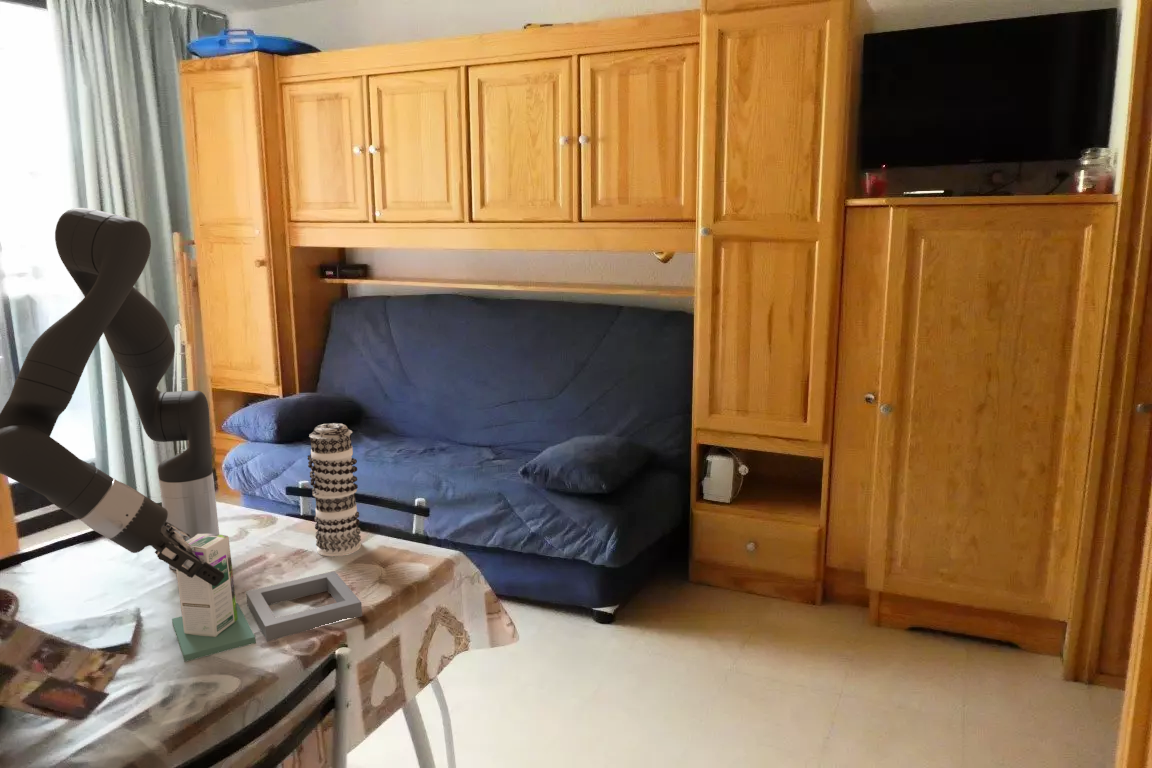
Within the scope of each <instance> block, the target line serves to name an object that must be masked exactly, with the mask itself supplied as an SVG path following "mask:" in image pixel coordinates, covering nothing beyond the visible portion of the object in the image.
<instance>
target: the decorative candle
mask: <svg viewBox="0 0 1152 768" xmlns="http://www.w3.org/2000/svg"><path fill="white" fill-rule="evenodd" d="M351 434H353V430H351V429H349V428H348V426H347V425H346V424H343V423H338V422H332V423H330V422H329V423H323V424H319V425H317V426H315V427H314V429H313V431H312V432H311V433H309V434H308V435H309V436H308V437H309V438H310V446H311V448H310V453H309V454H308V455H307V460H308V463H307V464H308V465H307V466H308V468H309V469H310V472H309V477H310V486H312V487H313V488H312V489H311V491H312V492H311V494H312V496H313V497H314V498H315V499H314V500H315V510H314V511H315V516H314V522H315V524H314V529H315V530H316V532H315V539H316V543H315V546H316V547H317V550H316V551H317V553H318V554H319V555H320V556H322V557H323V556H324V557H333V556H335V557H343V556H346V555H351V554H353V553H354V554H355V553H356V552H357V551H359V549H361V547H362V545H361V541H362V539H361V538H362V536H361V528H360V527H359V525H360V524H361V523H360V519H358V518H359V517H360V512H359V511H358V507H357V506H358V505H357V502H356V492H357V491H358V488H359V486H358V484H357V483H355V482H357V481H358V477H357V476H356V475H354V474H355V473H356V472H357V471H358V467H357V466H355V465H356V464H357V462H358V460H357V459H356V458H354V457H353V455H354V452H353V450H354V449H353V445H352V435H351ZM353 473H354V474H353Z"/></svg>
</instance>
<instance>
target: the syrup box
mask: <svg viewBox="0 0 1152 768" xmlns="http://www.w3.org/2000/svg"><path fill="white" fill-rule="evenodd" d="M229 538H230V537H229V536H228V535H225V534H224V535H223V534H220V533H219V534H197V535H195V537H193V538H191V539H189V540H187V541H186V542H187V543H188V544H190V545H191V546H192V547H193V548H195V550H196V552H195V553H196V555H198V556H199V557H200V558H202V559H204V561H205V562H207V563H208V564H210V565H212V566H213V567H215V568H217V569H218V570H220V571H222V572H223V573H224V578H223V579H222V580H221V582H220V583H219V584H218V585H217V586H213V585H211V584H210V583H208V582H206V581H204V580H203V579H201V578H199V577H198V576H196V575H195V576H193V578H191V577H188V576H187V575H186V574H184V573H182V572H181V571H179V570H178V569H176V570H175V571H176V578H177V579H176V580H177V588H178V594H179V600H180V601H179V602H180V608H181V610H180V611H181V616H182V619H183V627H184V633H186V634H192V635H200V636H212V637H216V636H218V634H219V633H220V632H222V631H223V630H225V629H226V628H227V627H229V626H230V625H231V624H232V623H234V622H236V621H237V620H238V616H237V607H236V603H237V599H236V598H237V597H236V593H235V592H236V590H235V582H234V581H235V579H234V572H233V564H232V555H231V548H230V547H231V545H230V539H229ZM193 563H194V562H192V561H190V560H188V561H187V563H186V564H187V565H188V566H189V567H191V566H192V565H193Z"/></svg>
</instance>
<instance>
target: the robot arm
mask: <svg viewBox="0 0 1152 768" xmlns="http://www.w3.org/2000/svg"><path fill="white" fill-rule="evenodd" d="M54 239H55V240H54V241H55V246H56V247H55V248H56V249H57V253H58V256H59V258H60V260H61V262H62V264H63V266H64V267H65V268H66V270H67V272H68V273H69V275H70V276H71V278H72V279H73V281H74V283H76V285H77V287H78V288H79V290H80V291H81V293H82V294H83V296H84V298H83V299H81V300H80V302H79V303H77V305H76V306H74V307H73V308H71V310H70V311H68V312H67V313H65V314H64V316H62V317H61V318H59V319H58V320H57V321H55V322H54V323H53V324H52V325H51V326H49V327H48V328H47V329H45V331H43V332H42V333H41V335H40V336H39V337H37V339H36V340H35V341H34V343H32V346H31V347H30V348H29V351H28V353H27V355H26V357H25V359H24V361H23V364H22V366H21V368H20V370H19V372H18V374H17V376H16V379H15V381H14V385H13V388H12V390H11V392H10V396H9V398H8V399H7V401H6V403H5V405H4V406H3V408H2V410H1V412H0V474H1V475H3V476H5V477H7V478H10V479H12V480H14V481H16V483H19V484H21V485H23V486H25V487H26V488H28V489H30V490H32V491H34V492H36V493H38V494H40V495H42V496H44V497H45V498H46V499H47V500H48V501H49V502H50V503H52V505H54V506H56V507H57V508H59V509H61V510H62V511H64V512H65V513H68V514H69V515H70V516H72V517H74V518H76V519H78V520H79V521H81V522H82V523H84V524H85V525H86V526H87V527H88V528H90V529H91V530H92V531H94V532H96V533H98V534H100V535H101V536H103V537H104V538H107V539H108V540H109V541H111V542H112V543H115V544H116V545H118V546H120V547H122V548H123V549H124V550H127V551H129V552H130V553H133V554H135V553H139V552H142V551H144V549H145V548H147V547H152V548H153V549H154V550H155V551H154V554H156V557H157V558H158V560H160V561H163V562H165V563H166V564H168V567H169V568H170V569H171V570H175V571H176V569H178V570H179V571H181V572H182V573H184V574H186V575H187V576H188V577H191V578H193V576H195V575H196V576H198V577H199V578H201V579H203V580H204V581H206V582H208V583H210V584H211V585H213V586H217V585H218V584H219V583H220V582H221V580H222V579H223V578H224V573H223V572H222V571H220V570H218V569H217V568H215V567H213V566H212V565H210V564H208V563H207V562H205V561H204V559H202V558H200V557H199V556H198V555H196V553H195V552H196V550H195V548H193V547H192V546H191V545H190V544H188V543H187V542H186V541H187V540H189V539H191V538H193V537H195V535H197V534H219V535H220V529H219V518H218V509H217V501H216V491H215V482H214V481H215V479H214V473H213V472H214V471H213V463H212V462H213V460H212V445H211V432H210V431H211V429H210V427H211V423H210V408H209V403H208V400H207V397H206V394H204V392H202V391H200V390H182V391H178V390H177V391H161V390H159V389H158V386H159V383H160V382H161V380H162V379H163V377H164V376H165V374H166V373H167V371H168V370H169V368H170V366H171V365H172V362H173V360H174V357H175V351H176V347H175V346H176V345H175V341H174V340H173V337H172V335H171V332H170V328H169V326H168V324H167V321H166V319H165V318H164V316H163V315H162V313H161V312H160V310H159V309H158V308H157V307H156V306H155V305H154V304H153V303H152V302H151V301H150V300H149V299H148V298H146V296H145V295H143V294H142V292H140V291H139V290H138V289H137V288H135V285H136V283H137V281H138V280H139V278H140V277H141V274H142V273H143V271H144V270H145V268H146V265H147V263H148V261H149V257H150V253H151V248H152V243H151V242H152V239H151V234H150V232H149V229H148V228H147V227H146V225H145V224H143V223H142V222H141V221H139V220H136V219H133V218H130V217H127V216H122V215H118V214H114V213H110V212H107V211H102V210H99V209H98V210H97V209H94V208H86V207H74V208H71V209H69V210H66V211H65V212H64V213H62V214H61V215H60V217H59V218H58V221H57V223H56V227H55V232H54ZM103 334H104V337H105V340H106V343H107V345H108V346H109V349H110V351H111V353H112V355H113V357H114V359H115V361H116V363H117V364H118V367H119V368H120V370H121V372H122V374H123V377H124V379H125V381H126V383H127V384H128V387H129V390H130V393H131V395H132V397H133V401H134V404H135V407H136V410H137V412H138V415H139V419H140V421H141V425H142V427H143V430H144V432H145V433H146V435H147V437H148V438H149V439H150V440H152V441H153V442H157V443H158V442H159V443H167V442H168V443H169V442H185V441H188V443H189V445H188V448H187V449H186V450H184V451H182V452H180V453H179V454H176V455H173V456H171V457H168V458H166V459H164V460H162V461H161V462H160V463H159V465H157V474H158V482H159V483H158V484H159V489H160V497H161V499H160V500H161V505H160V504H159V503H157V502H155V501H154V500H152V499H151V498H149V497H147V496H146V495H144V494H143V493H141V492H139V491H138V490H136V489H134V488H133V487H132V486H130V485H128V484H126V483H125V482H121V481H119V480H117V479H115V478H114V477H113V476H110V475H108V474H107V473H105V472H104V471H102V470H101V469H99V468H98V467H96V466H94V465H92V464H91V463H89V462H86V461H85V460H83V459H80V457H78V456H77V455H76V454H74V453H73V452H72V451H70V450H69V449H68V448H66V447H65V446H64V445H63V444H61V443H60V442H58V441H57V440H55V439H54V438H53V437H51V434H52V433H53V430H54V428H55V425H56V424H57V422H58V419H59V417H60V416H61V414H62V413H63V412H64V411H65V410H66V409H67V408H68V406H69V404H70V403H71V400H72V399H73V396H74V394H75V391H76V389H77V387H78V384H79V382H80V380H81V377H82V375H83V372H84V370H85V368H86V366H87V363H88V361H89V359H90V357H91V354H93V351H94V349H95V348H96V346H97V344H98V342H99V341H100V339H101V338H102V336H103ZM188 560H190V561H192V562H194V563H193V565H192V566H191V567H189V566H188V565H187V564H186V563H187V561H188Z"/></svg>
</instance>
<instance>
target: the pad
mask: <svg viewBox="0 0 1152 768" xmlns="http://www.w3.org/2000/svg"><path fill="white" fill-rule="evenodd" d="M236 607H237V616H238V620H237V621H236V622H234V623H232V624H231V625H230V626H229V627H227V628H226V629H225V630H223V631H222V632H220V633H219V634H218V636H216V637H212V636H200V635H192V634H186V633H184V627H183V619H182V615H181V616H178V617H173V618H172V619H171V622H172V627H173V631H174V633H175V637H176V639H177V641H178V642H177V643H178V646H179V648H180V651H181V652H180V653H181V655H182V659H183V660H184V662H188V661H192V660H196V659H200V658H204V657H207V656H211V655H215V654H219V653H223V652H226V651H230V650H234V649H238V648H241V647H245V646H249V645H252V644H256V636H255V634H254V632H253V630H252V628H251V626H250V624H249V622H248V620H247V618H246V616H245V615H244V613H243V610H242V609H241V607H240V605H239V603H238V602H236Z"/></svg>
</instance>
